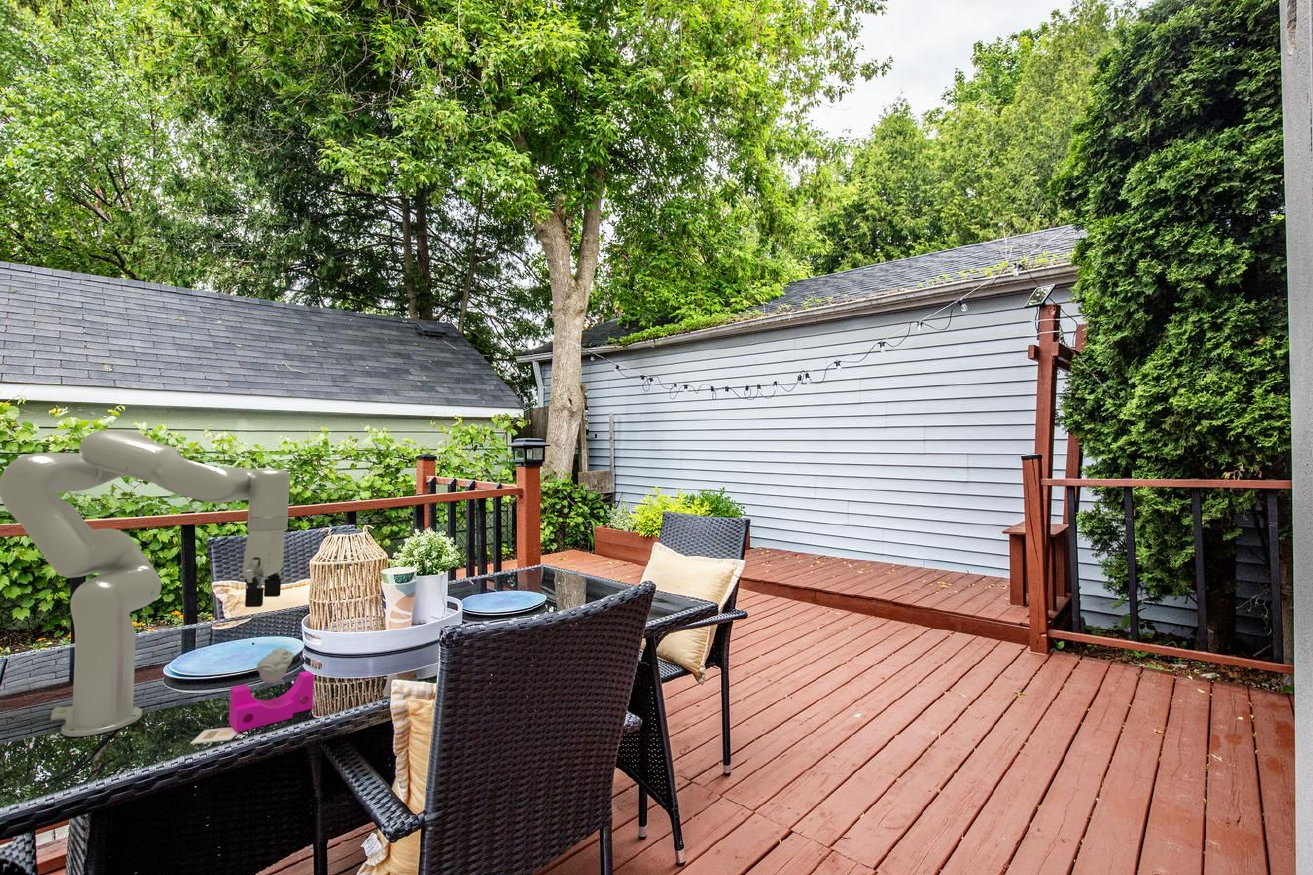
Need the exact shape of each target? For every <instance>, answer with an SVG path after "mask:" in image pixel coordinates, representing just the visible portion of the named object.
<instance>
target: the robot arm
mask: <svg viewBox="0 0 1313 875" xmlns="http://www.w3.org/2000/svg"><path fill="white" fill-rule="evenodd" d="M78 452H79V453H77V452H74V453H73V452H36V453H31V454H27V455H26V454H25V455H23V456H20V457H17V458H16V459H14V460H13V461H11V462H9V464H8V465H7V466H6V468H5V469H4V470H3V472H2V474H1V476H0V499H1V502H2V503H3V505H4V507H5V509H6V510H7V511H8V513H9V514H10V515H11V516H12V517H13V518H14V519H15V520H16V521H17V523H18V524H19V525H20V526H21V527H22V528H23V529H24V531H25V532H26V533H27V535H28V537H29V538H30V539H31V541H32V542H33V544H34V545H35V546H36V547H37V548H36V549H38V551H39V552H40V553H41V555H42V556H43V557H44V559H45V560H46V562H48V564H49V565H50V567H51V568H52V569H53V570H54V571H55V573H57V574H58V575H60V576H62V577H63V578H64V577H65V578H80V577H84V576H85V577H86V576H90V575H94V574H98V575H97V576H94V577H92V578H89V579H87V580H86V581H84V582H83V583H82V584H80V585H79V586H78V587H76V589H75V590H74V592H73V594H72V596H71V598H70V604H69V606H70V613H71V618H72V622H73V623H72V624H73V628H74V669H73V672H74V673H73V692H72V693H73V694H72V705H71V706H60V707H59V706H58V707H57V706H56V707H54V708H53V709H52V711H51V716H50V720H51V721H59V720H64V721H65V723H64V724H62V725H61V728H60V729H61V731H60V732H61V734H62V735H64V736H66V737H72V738H73V737H75V738H76V737H78V738H79V737H86V736H88V737H89V736H96V735H99V734H105V733H109V732H112V731H115V730H118V729H122V728H125V727H127V726H129V725H132V724H133V723H135V722H137V721H138V720H140V719H141V718H142V716H143V709H142V708H140V707H137V706H134V694H135V692H134V690H135V665H136V664H135V663H136V662H135V661H136V660H135V659H136V630H135V626H134V624H133V621H132V619H131V616H130V613H131V612H134V611H136V610H140V609H143V608H144V607H147V606H149V605H150V604H152V603H153V602H154V601H156V600H157V598H158V597H159V596H160V594H161V591H162V581H161V578H160V575H159V573H158V572H157V571H156V569H155V567H154V566H153V565H152V563H151V562H150V560H149V559H148V558H147V557H146V555H145V554H144V552H143V551H142V550H141V548H140V547H139V545H138V544H137V543H136V541H134V539H132V537H131V536H130V535H128V534H127V533H125V532H124V531H122V530H119V529H116V528H107V527H106V528H98V529H97V528H96V529H93V528H91V527H90V526H89V524H88V523H87V522H86V521H85V519H83V518H82V516H81V514H80V512H79V511H78V510H77V509H76V508H75V507H74V506H73V505H72V504H71V503H69V502H67V501H66V500H64V499H63V498H62V497H61V496H59V495H58V493H60V492H61V493H64V492H78V491H79V492H81V491H85V490H90V489H94V488H96V487H98V486H99V487H100V486H102V485H104V484H107V483H108V482H111V481H113V480H115V479H118V478H120V477H123V476H126V477H129V478H134V479H136V480H137V479H138V480H140V481H145V482H148V483H152V484H154V485H156V486H158V487H160V488H162V489H163V490H165V491H168V492H170V493H173V494H176V495H180V496H183V497H187V498H191V499H194V500H198V501H201V502H206V503H213V504H219V503H220V504H221V503H228V502H237V501H247V500H248V512H247V513H248V515H247V527H246V528H247V529H246V530H247V531H246V532H247V533H248V534H247V537H246V538H247V539H246V542H245V546H244V547H245V549H244V555H243V565H242V577H243V578H245V580H244V581H245V582H244V583H245V587H244V588H245V600H244V606H245V608H260V607H262V606H263V605H264V597H265V598H269V597H270V598H276V597H277V598H278V597H280V596H281V590H282V589H281V588H282V576H283V574H282V570H283V567H284V559H285V556H284V555H285V535H284V534H285V533H284V532H286V531H287V530H288V520H289V519H288V518H289V517H288V516H289V500H290V485H291V484H290V483H291V476H290V473H289V471H287V470H285V469H272V468H267V469H262V468H260V469H253V468H248V467H237V466H235V467H234V466H232V467H231V466H230V467H227V466H226V467H218V466H217V467H216V466H212V465H208V464H205V463H201V462H198V461H193V460H190V459H188V458H185V457H183V456H181V454H180V451H179V450H178V449H177V448H175V447H174V446H171V445H167V444H163V443H159V442H156V441H152V440H151V439H150V438H149V437H148V436H147V435H144V434H143V433H140V432H136V431H130V430H129V431H128V430H115V429H112V430H111V429H102V430H98V431H93V432H91V433H90V434H88V435H87V436H85V437H84V438H83V439H82V440H81V442H80V444H79V448H78ZM263 583H264V586H263Z"/></svg>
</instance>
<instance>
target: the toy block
mask: <svg viewBox="0 0 1313 875" xmlns="http://www.w3.org/2000/svg"><path fill="white" fill-rule="evenodd" d="M314 678H315V674H314V673H313V672H311V671H310V670H305V671H301V672H298V674H297V678H296V681H295V682H294V683H293V685H292V686H291V687H290V689H288V691H286V692H284V694H282V695H280V696H279V697H276V698H273V699H272V698H271V699H268V700H262V699H257V698H256V697H253V695H252V693H251V689H250V687H249V686H248V685H247V684H242V685H241V684H240V685H237V686H231V687H230V690H229V691H230V692H229V710H228V711H229V712H228V714H229V715H228V724H229V726H230V727H232V728H233V730H234V731H235V732H236V733H237V732H238V733H241V732H245V731H248V730H251V729H255V728H256V729H257V728H259V727H263V726H268V725H271V724H274V723H278V722H283V721H285V720H289V719H293V718H294V714H296V713H301V712H304V711H308V710H312V709H313V708H314V707H313V706H314ZM238 733H237V734H238Z"/></svg>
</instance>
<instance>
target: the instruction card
mask: <svg viewBox="0 0 1313 875" xmlns="http://www.w3.org/2000/svg"><path fill="white" fill-rule="evenodd" d="M237 734H239V732H237V733H236V732H235V731H234V730H233V728H232V727H231V726H230V727H222V728H221V727H220V728H214V729H213V728H211V729H210V728H209V729H204V730H203V731H202V732H201V733H200V734H199V735H198V736H196V738H194V739H192V741H191V742H190V743H189V745H195V744H203V743H204V744H205V743H215V742H216V743H217V742H224V741H226V742H227V741H231V740H232V739H233V738H234V737H235V736H237Z"/></svg>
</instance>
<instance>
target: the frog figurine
mask: <svg viewBox="0 0 1313 875" xmlns="http://www.w3.org/2000/svg"><path fill="white" fill-rule="evenodd" d="M293 659H294V652H292V650H291V651H290V650H287V649H286V648H276V649H274V650H272V651H271V652H270V653H269V654H267V655H266V656H265V657H263V658H262V659H261V660H260V661H259V662H258V663H257V664H256V667H257V672H258V673H259V676H260V679H261V681H262V682H264V683H267V684H274V683H278V682H279V681H281V680H282V679H283V678H284V677H285V675H286V674H287V669H288V668H289V666H291V664H292V661H293Z"/></svg>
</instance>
